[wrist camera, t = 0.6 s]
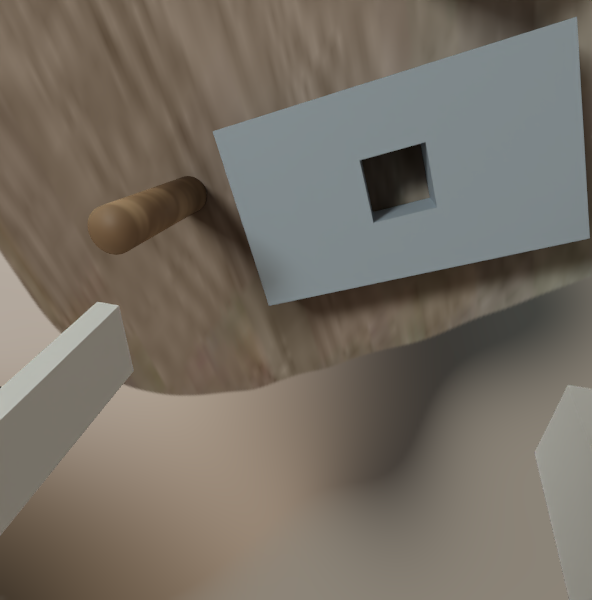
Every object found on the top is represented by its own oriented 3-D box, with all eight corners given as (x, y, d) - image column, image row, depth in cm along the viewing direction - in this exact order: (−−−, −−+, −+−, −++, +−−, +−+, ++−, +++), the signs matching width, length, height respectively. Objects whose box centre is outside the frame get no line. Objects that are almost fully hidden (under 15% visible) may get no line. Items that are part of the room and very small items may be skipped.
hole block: (277, 288, 41) (269, 305, 37) (228, 129, 36) (212, 131, 33) (566, 225, 35) (589, 238, 32) (551, 27, 31) (576, 16, 27)
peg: (167, 181, 39) (79, 212, 27) (199, 172, 38) (123, 199, 26) (180, 215, 40) (100, 259, 28) (211, 206, 39) (143, 248, 27)
